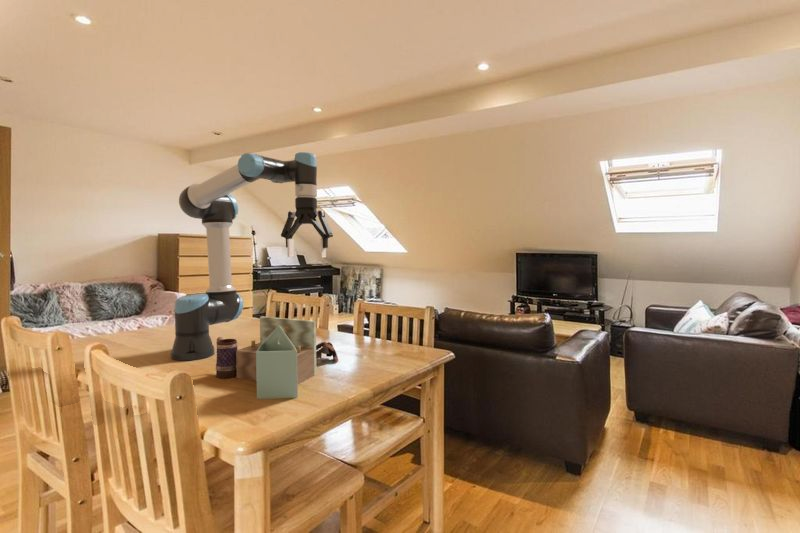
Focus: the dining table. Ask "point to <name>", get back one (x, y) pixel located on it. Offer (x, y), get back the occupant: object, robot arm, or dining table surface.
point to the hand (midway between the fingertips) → (306, 257)
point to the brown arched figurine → (326, 351)
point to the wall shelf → (296, 331)
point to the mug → (226, 358)
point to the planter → (276, 367)
